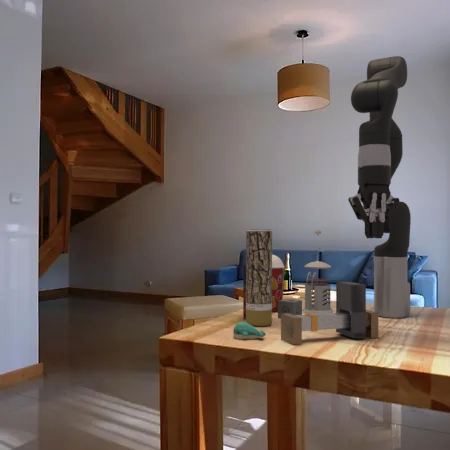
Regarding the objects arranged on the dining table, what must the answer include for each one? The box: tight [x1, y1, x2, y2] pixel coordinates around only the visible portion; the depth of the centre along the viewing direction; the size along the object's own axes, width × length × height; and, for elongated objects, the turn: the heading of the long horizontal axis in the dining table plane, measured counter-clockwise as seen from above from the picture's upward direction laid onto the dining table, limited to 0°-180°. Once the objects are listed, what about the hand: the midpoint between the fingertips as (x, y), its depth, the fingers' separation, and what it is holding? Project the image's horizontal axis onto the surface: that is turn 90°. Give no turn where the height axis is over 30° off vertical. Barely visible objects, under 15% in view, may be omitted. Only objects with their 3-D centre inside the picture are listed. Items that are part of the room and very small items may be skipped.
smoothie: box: [272, 254, 286, 313], centre depth 146 cm, size 8×8×20 cm
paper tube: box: [245, 228, 273, 327], centre depth 125 cm, size 7×7×25 cm
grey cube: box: [277, 298, 303, 319], centre depth 135 cm, size 5×5×5 cm
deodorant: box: [242, 263, 246, 321], centre depth 133 cm, size 6×6×15 cm
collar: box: [335, 280, 367, 340], centre depth 111 cm, size 3×7×12 cm, turn 20°
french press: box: [302, 229, 335, 314], centre depth 145 cm, size 10×12×25 cm
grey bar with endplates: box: [280, 309, 379, 346], centre depth 109 cm, size 22×6×6 cm, turn 110°
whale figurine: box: [232, 321, 267, 340], centre depth 109 cm, size 6×7×4 cm
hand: (374, 238), depth 113 cm, fingers closed
